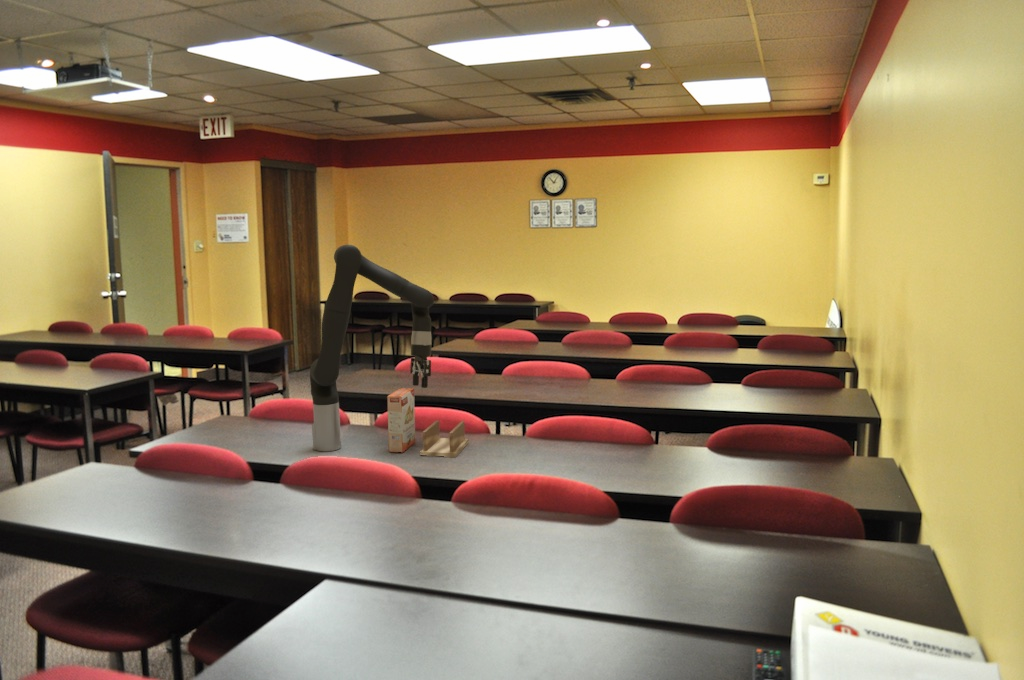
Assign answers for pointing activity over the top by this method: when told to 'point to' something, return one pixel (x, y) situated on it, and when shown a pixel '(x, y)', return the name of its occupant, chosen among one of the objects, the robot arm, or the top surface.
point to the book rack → (443, 441)
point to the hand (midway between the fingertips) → (419, 386)
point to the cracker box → (401, 419)
